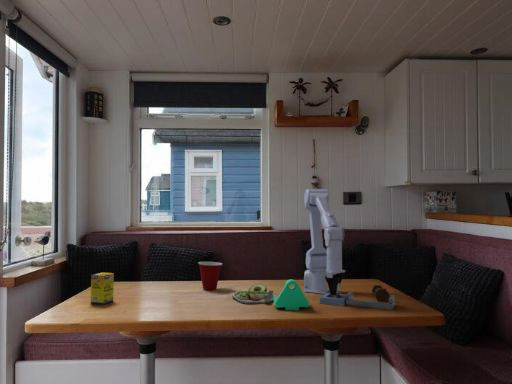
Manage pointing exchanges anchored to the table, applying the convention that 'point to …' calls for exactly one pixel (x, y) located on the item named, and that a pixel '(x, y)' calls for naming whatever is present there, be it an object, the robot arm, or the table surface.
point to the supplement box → (102, 288)
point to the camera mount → (291, 297)
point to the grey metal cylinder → (337, 292)
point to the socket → (333, 299)
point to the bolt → (380, 293)
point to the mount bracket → (370, 304)
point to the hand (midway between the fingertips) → (334, 293)
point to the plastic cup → (209, 274)
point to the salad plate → (255, 295)
